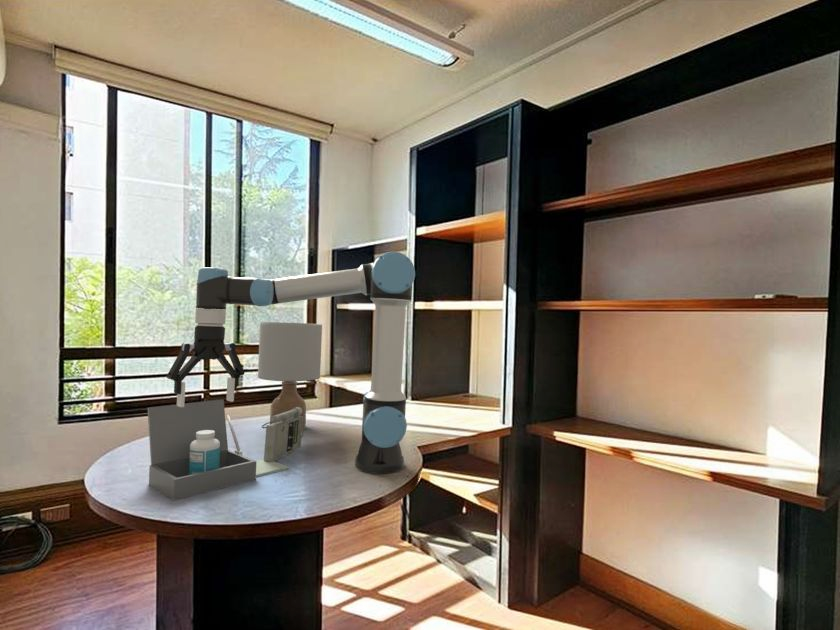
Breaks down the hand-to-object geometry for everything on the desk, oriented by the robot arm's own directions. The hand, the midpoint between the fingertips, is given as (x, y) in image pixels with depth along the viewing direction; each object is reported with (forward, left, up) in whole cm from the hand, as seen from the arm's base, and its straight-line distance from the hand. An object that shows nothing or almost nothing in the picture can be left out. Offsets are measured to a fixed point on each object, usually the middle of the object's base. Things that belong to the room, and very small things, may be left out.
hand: (206, 403), depth 129 cm
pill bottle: (0, 0, -21) cm, 21 cm away
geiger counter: (+8, -32, -21) cm, 39 cm away
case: (+2, -1, -21) cm, 21 cm away
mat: (-1, -17, -21) cm, 27 cm away
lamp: (+36, -52, -21) cm, 67 cm away
